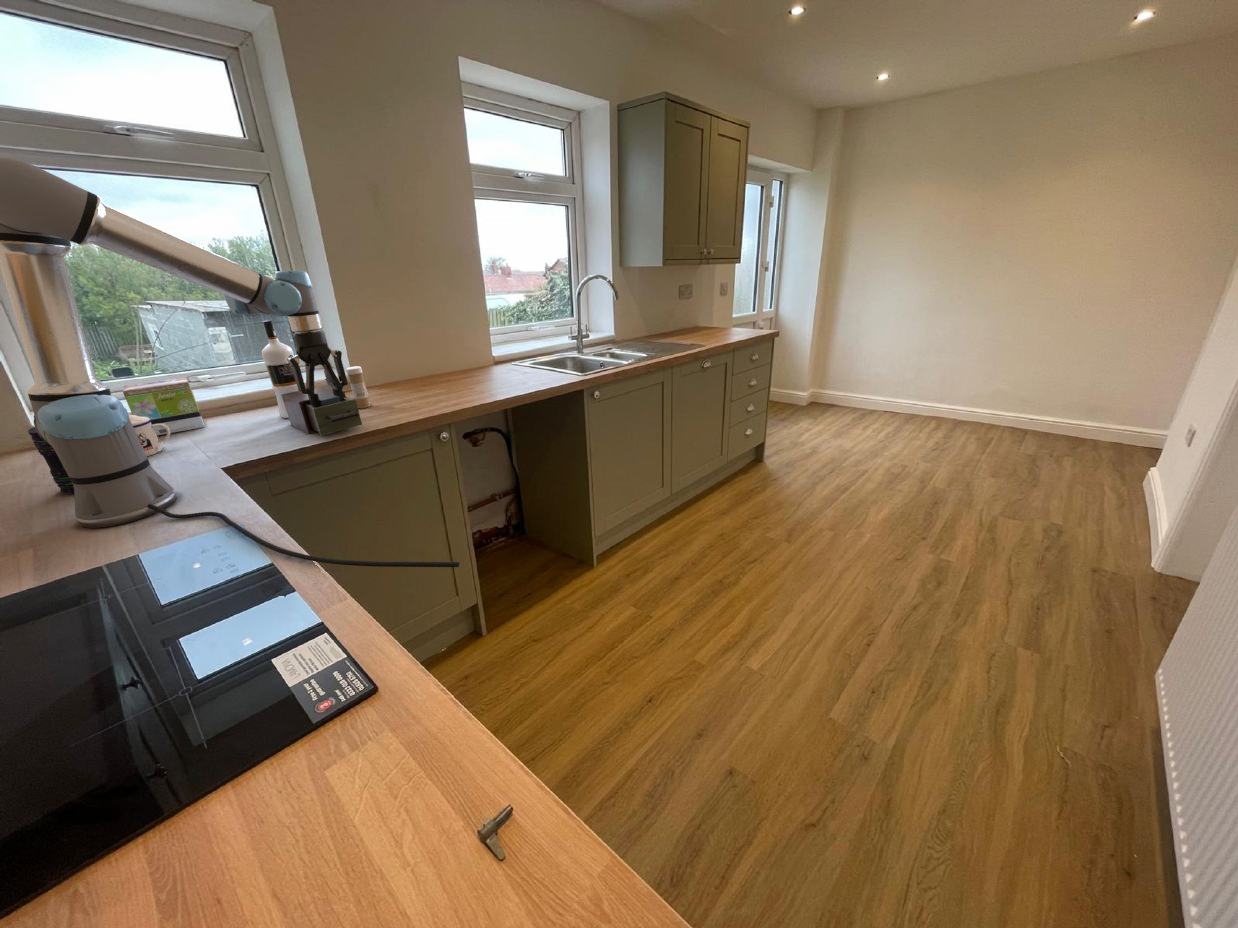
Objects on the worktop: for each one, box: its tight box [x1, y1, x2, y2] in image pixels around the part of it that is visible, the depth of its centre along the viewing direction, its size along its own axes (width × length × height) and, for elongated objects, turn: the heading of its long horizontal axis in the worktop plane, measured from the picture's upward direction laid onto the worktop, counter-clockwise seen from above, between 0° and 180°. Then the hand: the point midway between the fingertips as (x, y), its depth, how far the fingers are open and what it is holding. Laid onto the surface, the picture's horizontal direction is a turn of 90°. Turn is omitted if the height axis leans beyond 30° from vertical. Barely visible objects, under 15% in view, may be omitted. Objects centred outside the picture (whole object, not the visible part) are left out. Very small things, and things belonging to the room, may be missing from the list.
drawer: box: [303, 397, 363, 437], centre depth 145 cm, size 18×11×8 cm, turn 49°
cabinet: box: [281, 384, 347, 435], centre depth 152 cm, size 15×13×10 cm
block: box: [319, 394, 341, 406], centre depth 144 cm, size 5×5×5 cm
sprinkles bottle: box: [345, 365, 371, 409], centre depth 167 cm, size 5×5×14 cm
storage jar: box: [27, 426, 74, 496], centre depth 114 cm, size 10×10×15 cm
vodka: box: [261, 319, 299, 419], centre depth 158 cm, size 9×9×30 cm
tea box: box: [122, 376, 205, 436], centre depth 152 cm, size 15×10×15 cm, turn 131°
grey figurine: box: [323, 369, 335, 388], centre depth 179 cm, size 6×6×12 cm
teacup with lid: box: [128, 412, 171, 457], centre depth 134 cm, size 12×9×12 cm
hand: (331, 413), depth 145 cm, fingers closed on block, 5 cm apart
